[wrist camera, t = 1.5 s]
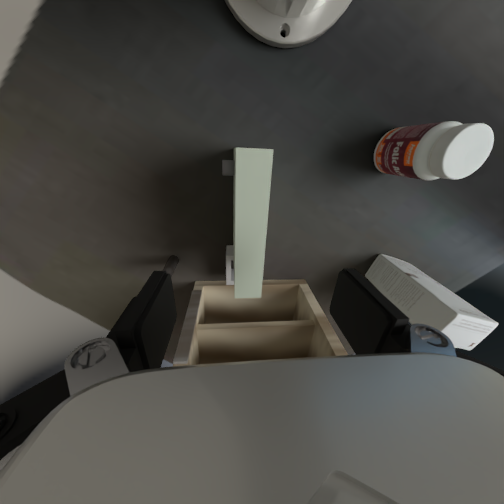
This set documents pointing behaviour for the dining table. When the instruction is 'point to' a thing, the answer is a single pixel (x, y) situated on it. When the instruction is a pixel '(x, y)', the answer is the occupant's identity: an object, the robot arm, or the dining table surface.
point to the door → (248, 219)
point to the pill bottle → (434, 150)
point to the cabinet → (253, 324)
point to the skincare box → (429, 302)
